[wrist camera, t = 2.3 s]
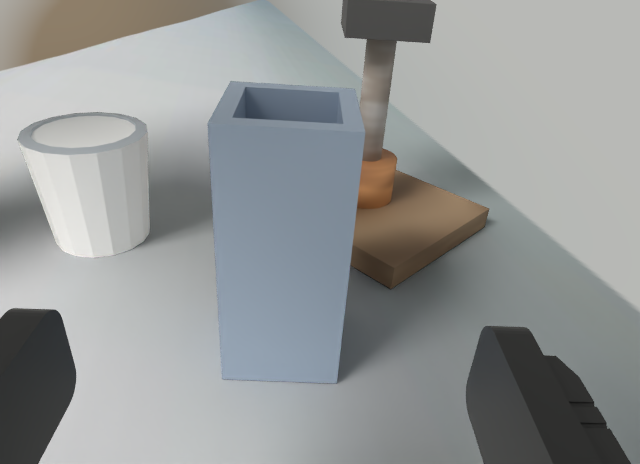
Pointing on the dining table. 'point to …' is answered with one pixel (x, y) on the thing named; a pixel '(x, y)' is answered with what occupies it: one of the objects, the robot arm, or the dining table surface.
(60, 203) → the white cup
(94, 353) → the dining table surface
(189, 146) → the dining table surface
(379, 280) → the post stand
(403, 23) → the ring
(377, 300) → the dining table surface
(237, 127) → the sleeve
